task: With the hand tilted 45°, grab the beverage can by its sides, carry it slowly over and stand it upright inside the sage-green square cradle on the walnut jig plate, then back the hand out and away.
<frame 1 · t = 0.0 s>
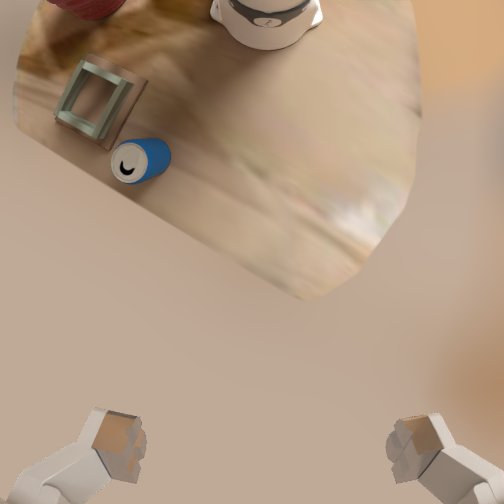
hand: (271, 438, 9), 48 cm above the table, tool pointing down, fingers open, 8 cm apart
cradle: (99, 99, 48), on the table
beverage can: (154, 156, 52), on the table
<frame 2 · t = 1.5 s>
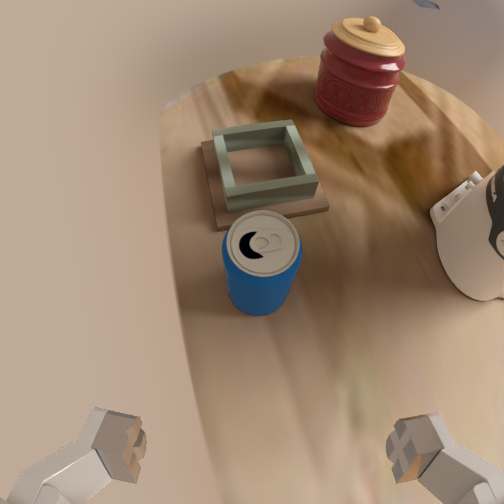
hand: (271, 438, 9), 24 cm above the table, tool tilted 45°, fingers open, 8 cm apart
canister: (349, 103, 49), on the table
cradle: (261, 175, 42), on the table
beverage can: (257, 289, 36), on the table
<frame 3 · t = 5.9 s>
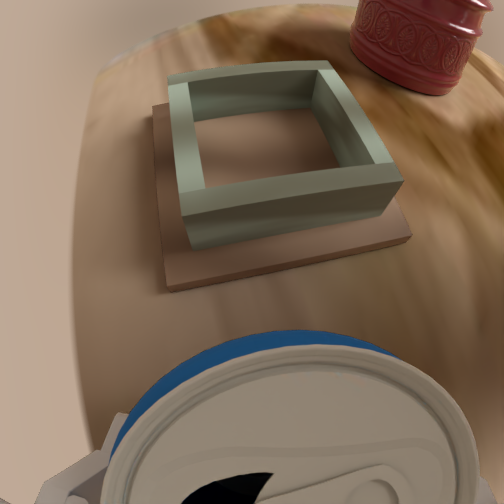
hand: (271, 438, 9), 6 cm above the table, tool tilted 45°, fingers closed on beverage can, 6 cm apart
canister: (402, 63, 28), on the table
cradle: (267, 166, 20), on the table
beverage can: (260, 432, 14), on the table, touching gripper
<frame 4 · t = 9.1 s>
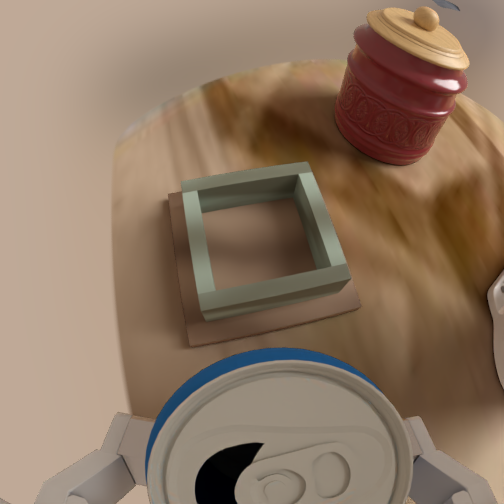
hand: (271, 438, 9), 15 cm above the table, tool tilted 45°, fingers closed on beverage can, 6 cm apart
canister: (381, 129, 36), on the table
cradle: (258, 251, 28), on the table
beverage can: (258, 428, 16), point 7 cm above the table, touching gripper
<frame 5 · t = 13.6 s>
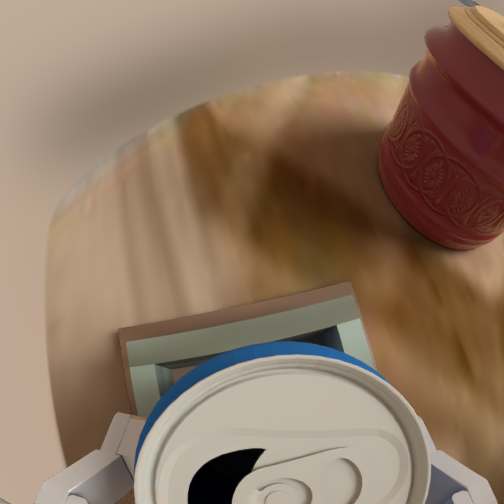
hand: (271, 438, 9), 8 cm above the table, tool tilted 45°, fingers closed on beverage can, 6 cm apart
canister: (440, 186, 24), on the table
cradle: (262, 426, 16), on the table
beverage can: (260, 427, 15), point 1 cm above the table, touching cradle, gripper
when the fingers open (8 cm above the table, at t = 14.4 s): beverage can stays where it is, resting on cradle.
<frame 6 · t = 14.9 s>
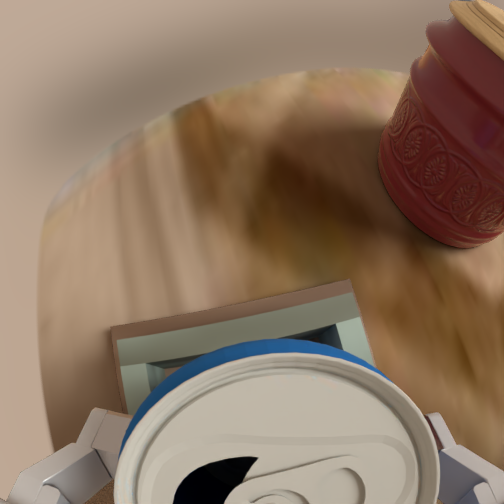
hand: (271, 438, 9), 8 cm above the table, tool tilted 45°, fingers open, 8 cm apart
canister: (441, 183, 23), on the table
cradle: (258, 428, 16), on the table
beverage can: (256, 429, 15), point 1 cm above the table, touching cradle
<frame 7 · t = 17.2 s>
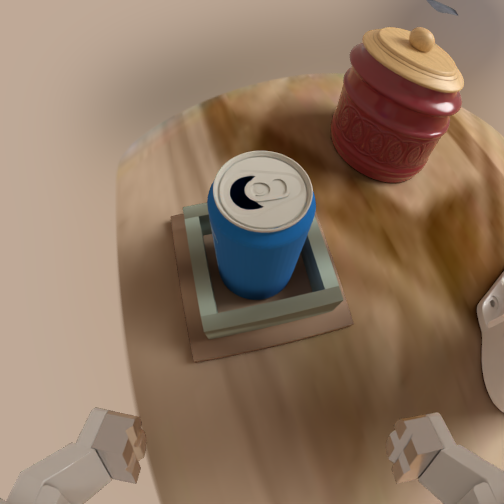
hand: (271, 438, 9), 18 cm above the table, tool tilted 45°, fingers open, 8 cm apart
canister: (376, 146, 37), on the table
cradle: (256, 271, 30), on the table
beverage can: (255, 268, 29), point 1 cm above the table, touching cradle
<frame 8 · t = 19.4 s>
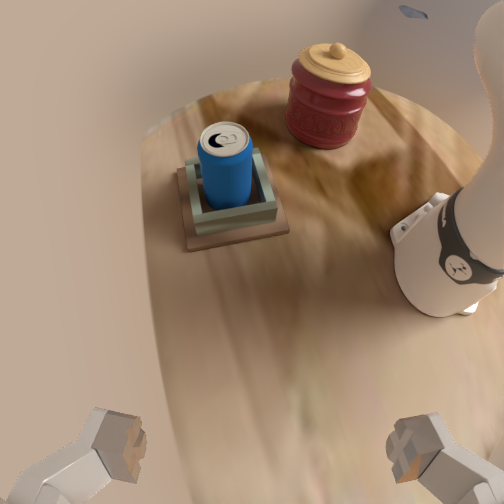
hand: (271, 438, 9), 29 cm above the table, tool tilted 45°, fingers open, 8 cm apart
canister: (319, 125, 54), on the table
cradle: (229, 200, 47), on the table
beverage can: (228, 197, 46), point 1 cm above the table, touching cradle
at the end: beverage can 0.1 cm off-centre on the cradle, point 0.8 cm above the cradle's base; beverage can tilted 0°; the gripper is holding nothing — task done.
